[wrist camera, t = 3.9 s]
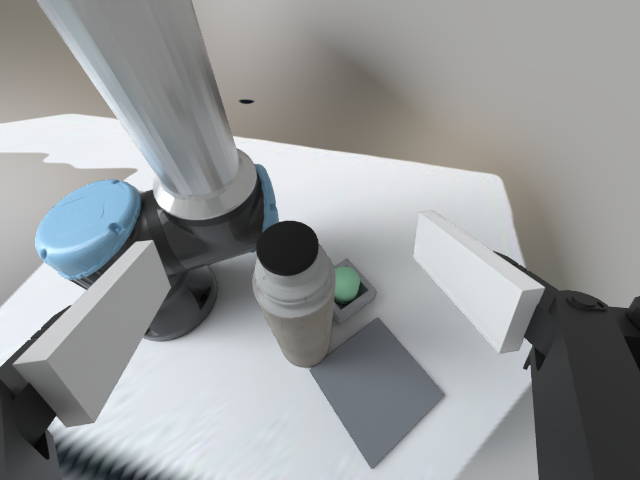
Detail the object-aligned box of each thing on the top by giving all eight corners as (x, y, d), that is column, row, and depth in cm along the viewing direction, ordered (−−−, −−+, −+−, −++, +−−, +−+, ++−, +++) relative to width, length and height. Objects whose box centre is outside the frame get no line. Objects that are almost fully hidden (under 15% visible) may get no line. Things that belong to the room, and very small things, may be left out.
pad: (371, 468, 34) (371, 468, 34) (309, 370, 41) (309, 370, 41) (443, 395, 39) (444, 394, 39) (377, 318, 46) (378, 317, 45)
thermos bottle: (319, 310, 47) (316, 194, 24) (338, 355, 42) (356, 267, 19) (275, 327, 45) (226, 220, 22) (290, 376, 41) (249, 306, 18)
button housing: (338, 324, 45) (339, 318, 43) (311, 289, 49) (311, 281, 46) (374, 298, 48) (377, 291, 45) (346, 266, 52) (347, 258, 49)
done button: (340, 309, 45) (342, 299, 42) (323, 287, 47) (323, 276, 44) (363, 293, 47) (366, 282, 44) (345, 272, 49) (347, 261, 46)
